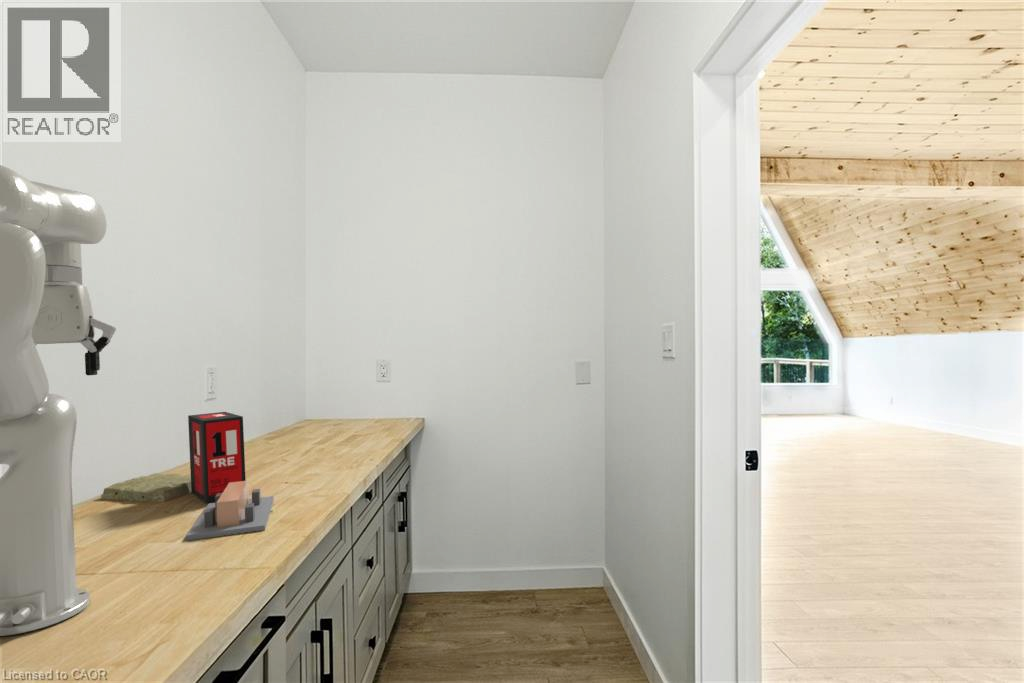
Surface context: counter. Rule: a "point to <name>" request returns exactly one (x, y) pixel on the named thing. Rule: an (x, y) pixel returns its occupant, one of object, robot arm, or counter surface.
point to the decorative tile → (150, 488)
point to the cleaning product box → (215, 453)
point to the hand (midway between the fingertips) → (59, 376)
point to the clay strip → (232, 504)
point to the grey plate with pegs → (250, 522)
